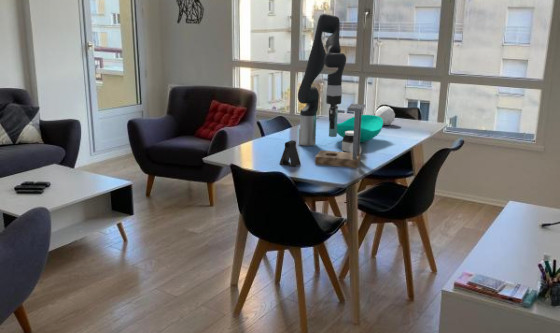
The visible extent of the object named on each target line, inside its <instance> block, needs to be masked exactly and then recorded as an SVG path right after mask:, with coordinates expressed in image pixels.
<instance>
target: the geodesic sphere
mask: <svg viewBox="0 0 560 333" xmlns="http://www.w3.org/2000/svg"><path fill="white" fill-rule="evenodd" d="M374 116H379V117H381V118H382V120H383V126H384V125H387V126H389V125H391V124H392V123H393V122H394V121H395V116H396V113H395V111H394V109H393V108H391V107H390V106H388V105H387V106H386V105H382V106H380V107H378V109H377V110H376V111H375V113H374Z"/></svg>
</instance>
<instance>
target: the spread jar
mask: <svg viewBox="0 0 560 333" xmlns="http://www.w3.org/2000/svg"><path fill="white" fill-rule="evenodd" d="M353 137H354V131H346V132H345V136H344V137H342V141H341V150H342V151H341V152H349V153H353ZM361 146H362V145H360V153H362V147H361Z"/></svg>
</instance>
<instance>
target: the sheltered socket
mask: <svg viewBox="0 0 560 333" xmlns="http://www.w3.org/2000/svg"><path fill="white" fill-rule="evenodd" d="M365 109H366V104H363V103H351V104H350V105H348V107H347V110H346V111H347V112H354V117H355V118H354V137H353V153H349V152H343V151H334V150H322V149H321V150H319V152H318V153H317V154H316V155H315V156H314V159H315V160H314V165H315V166H316V165H319V166H331V167H342V168H343V167H344V168H355V169H356V168H358V166H359V165H360V162H361V155H362V154H361V153H362V152H361V153H360V146H361V142H360V135H361V116H362V115H363V113H362V112H363V111H364V110H365Z"/></svg>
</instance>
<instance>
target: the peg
mask: <svg viewBox="0 0 560 333" xmlns="http://www.w3.org/2000/svg"><path fill="white" fill-rule="evenodd" d="M338 113H339V112H338ZM338 113H337V112H336V117H335V126H334V129H330V121H329V120H328V123H329V124H328V137H329V138H337V136H338V134H337V124H338V115H339V114H338ZM334 115H335V114H334ZM331 119H333V117H331Z"/></svg>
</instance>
